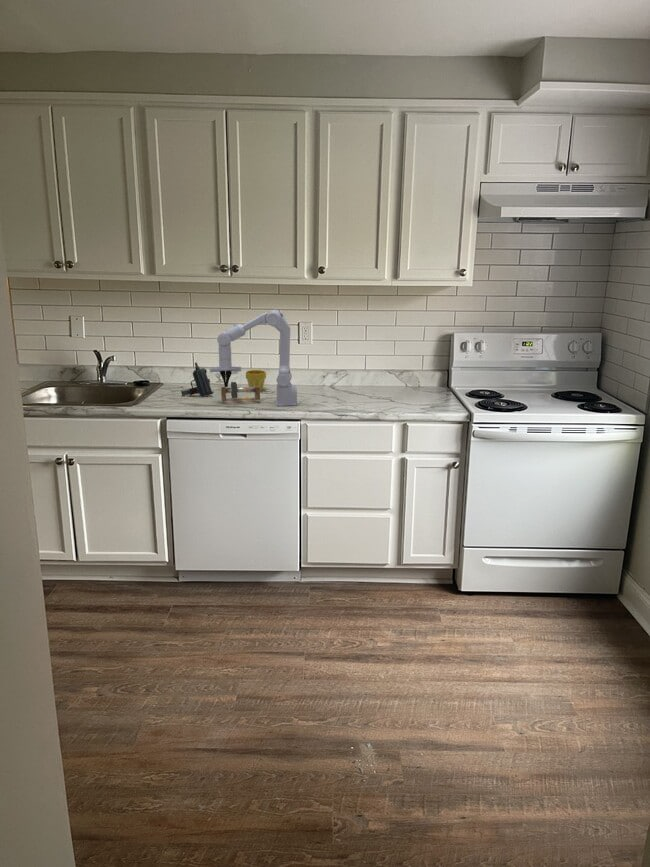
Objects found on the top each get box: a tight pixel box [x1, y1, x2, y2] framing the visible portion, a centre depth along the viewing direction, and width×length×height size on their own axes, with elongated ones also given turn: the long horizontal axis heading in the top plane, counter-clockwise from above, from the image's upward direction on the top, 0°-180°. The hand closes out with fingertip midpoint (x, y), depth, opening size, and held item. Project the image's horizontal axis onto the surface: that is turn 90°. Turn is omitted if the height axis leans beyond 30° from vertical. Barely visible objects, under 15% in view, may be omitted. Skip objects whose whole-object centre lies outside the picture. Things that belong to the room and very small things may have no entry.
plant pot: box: [245, 369, 267, 392], centre depth 328 cm, size 10×10×10 cm
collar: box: [230, 381, 238, 398], centre depth 303 cm, size 2×6×6 cm, turn 12°
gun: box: [180, 361, 214, 398], centre depth 313 cm, size 3×17×15 cm
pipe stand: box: [220, 386, 261, 405], centre depth 305 cm, size 18×6×7 cm, turn 102°
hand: (226, 386), depth 302 cm, fingers closed
